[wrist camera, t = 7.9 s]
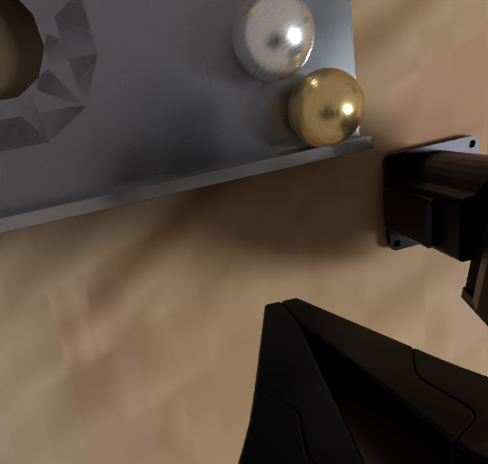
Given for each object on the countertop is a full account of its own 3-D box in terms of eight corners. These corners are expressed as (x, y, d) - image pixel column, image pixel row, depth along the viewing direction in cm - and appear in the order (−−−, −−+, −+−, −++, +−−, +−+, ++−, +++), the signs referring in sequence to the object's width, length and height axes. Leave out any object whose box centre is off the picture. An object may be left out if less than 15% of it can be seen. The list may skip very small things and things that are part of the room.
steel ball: (282, -7, 15) (322, 60, 16) (221, 40, 16) (261, 103, 16) (288, -54, 12) (338, 32, 13) (210, 7, 13) (261, 88, 13)
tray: (309, -190, 16) (348, -278, 12) (338, 143, 21) (372, 148, 17) (-248, -144, 13) (-403, -242, 9) (-54, 230, 18) (-108, 257, 14)
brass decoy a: (327, 66, 17) (382, 58, 14) (330, 135, 18) (381, 141, 16) (269, 76, 16) (317, 70, 13) (277, 150, 17) (323, 159, 14)
